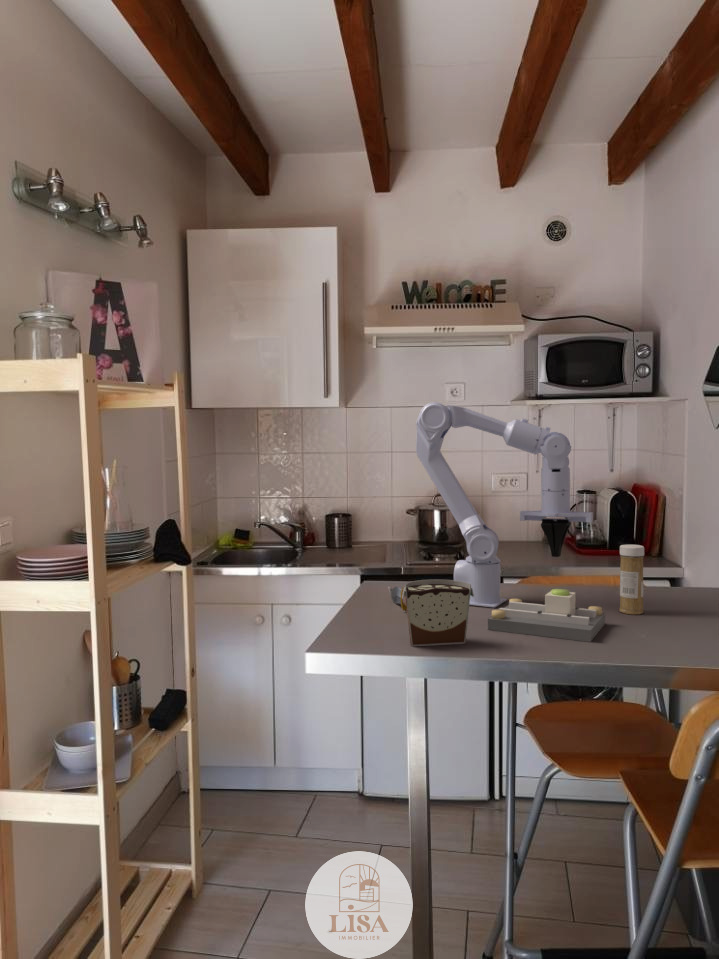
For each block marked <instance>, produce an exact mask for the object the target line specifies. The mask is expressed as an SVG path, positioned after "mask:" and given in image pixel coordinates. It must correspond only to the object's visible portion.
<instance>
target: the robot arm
mask: <svg viewBox="0 0 719 959" xmlns="http://www.w3.org/2000/svg"><path fill="white" fill-rule="evenodd" d="M415 426H416V440H415V443H416V444H415V454H416V456H417V458H418V459H419V461H420V462H421V465H422V466H423V468H424V469H425V471H426V472H427V474H428V476H429V478H430V480H431V481H432V482H433V484H434V486H435V488H436V490H437V491H438V493H439V494H440V497H441V498H442V500H443V501H444V503H445V504H446V506H447V508H448V510H449V511H450V513H451V515H452V516H453V518H454V519H455V521H456V523H457V525H458V527H459V529H460V532H461V535H462V536H463V538H464V540H465V543H466V550H467V554H468V556H466V557H465V559H459V560H457V561H456V563H455V565H454V569H453V580H454V581H461V582H466V583H469V584H471V588H473V594H474V596H471V595H470V604H469V606H477V607H485V608H497V607H499V606H500V605H502V604H504V603H505V602H506V601H507V598H505V597H501V558H499V556H497V553H498V551H499V550H498V549H499V544H500V539H499V536H498V534H497V532H495V531H494V530H493V529H491V528H490V527H489V526H488V525H486V523H485V522H484V520H483V518H482V517H481V516H480V514H479V513H478V511H477V510H476V508H475V507H474V505H473V503H472V502H471V500H470V499H469V498H470V497H468V495H467V493H466V492H465V490H464V489H463V487H462V485H461V484H460V482H459V481H458V478H457V477H456V475H455V473H454V471H453V470H452V468H451V467H450V465H449V464H448V462H447V460H446V459H445V457H444V455H443V454H442V452H441V449H442V446H443V443H444V440H445V436H446V435H447V433H448V432H449V430H450V429H451V427H452V428H453V429H457V428H462V427H463V428H464V427H470V428H472V429H477V430H480V431H483V432H486V433H488V434H489V433H490V434H493V435H496V436H499V437H502V438H503V440H504V442H505V445H506V446H508V447H512V448H515V449H517V450H521V451H524V452H526V453H530V454H531V455H532V454H533V455H535V456H536V455H537V454H541V455H542V457H541V458H542V459H541V460H542V462H541V463H542V466H541V470H540V476H541V477H540V480H541V482H540V485H541V489H540V490H541V494H540V495H541V498H540V499H541V500H540V502H541V510H521V511H519V521H525V522H526V521H532V522H533V521H538V522H541V523H540V527H541V529H542V530H543V533H544V535H545V538H546V539H547V543H548V545H549V549H550V555H551V557H553V558H559V557H561V555H562V549H563V545H564V541H565V538H566V536H567V533H568V531H569V529H570V527H571V525H572V523H571V522H573V523H574V522H575V523H590V524H591V523H593V522H594V512H592V511H572V510H571V472H570V470H571V469H570V467H569V465H570V458H569V455H570V453H571V451H572V445H571V442H570V440H569V438H568V437H567V436H566V435H565V434H564V433H562V432H558V431H551V430H552V429H551V427H548V426H545V427H541V426H539V425H536V424H533V423H529V419H526V418H524V417H522V418H521V420H520V419H517V418H516V419H513V420H511V421H509V422H505V421H503V420H500V419H497V418H495V417H493V416H489V415H486V414H483V413H481V412H479V411H475V410H472V409H470V408H467V407H463V406H459V405H452V404H446V405H445V404H443V403H441V402H438V401H431V402H429V403H426V404H425V405H423V406H422V408H421V410H420V411H419V415H418V417H417V419H416V422H415Z"/></svg>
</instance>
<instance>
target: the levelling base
mask: <svg viewBox="0 0 719 959" xmlns="http://www.w3.org/2000/svg"><path fill="white" fill-rule="evenodd" d="M508 600H509V602H508V605H506V606H504V607H500V608H498V609H492V610H491V616H490V617H489V618H487V631H495V632H496V631H497V632H504V633H513V634H522V635H530V636H539V637H546V638H555V639H564V640H571V641H579V642H580V641H581V642H589V643H591V642H592V641H593V640H594V638H595V637H596V636H597V634H598V633H599V632H600V631H601V629H602V628H604V626H605V624H606V613H604V612H603V607H601V606H595V605H593V606H590V605H589V606H588V608H583V607H582V608H581V607H580V606H575V615H574V616H573V615H571V614H568V615H563V614H553V613H545V604H541V603H529V602H523V600H522V598H510V599H508Z"/></svg>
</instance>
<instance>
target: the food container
mask: <svg viewBox="0 0 719 959" xmlns="http://www.w3.org/2000/svg"><path fill="white" fill-rule="evenodd" d="M403 588H404V589H403V594H402V599H404V595H405V596H406V606H407V609H406V614H407V623H408V631H409V634H408V635H409V641H410V642H409V643H410V646H411V647H424V646H425V647H426V646H429V647H430V646H441V645H442V646H443V645H446V646H447V645H463V644H466V642H467V641H466V640H467V630H468V624H469V623H468V622H469V621H468V620H469V611H470V605H469V604H470V595H471V596H474V594H473V588H471V584H469V583H466V582H461V581H454V579H421V580H419V579H418V580H414V581H409V582H407V583H406V584H404V587H403Z"/></svg>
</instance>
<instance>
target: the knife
mask: <svg viewBox="0 0 719 959" xmlns="http://www.w3.org/2000/svg"><path fill="white" fill-rule="evenodd" d="M387 588H388V592H389V595H390V599H391V601H392V603H393V604H399V605H400V607H401V609H402V611H404V612H405V611H406V612H407V606H406V596H405V595H404V599H402V594H403V589H404V588H405V587H402V588H401V587H399V586H398V585H397V586H396V585H395V587H394V588H392V587H390V586H387Z"/></svg>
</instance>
